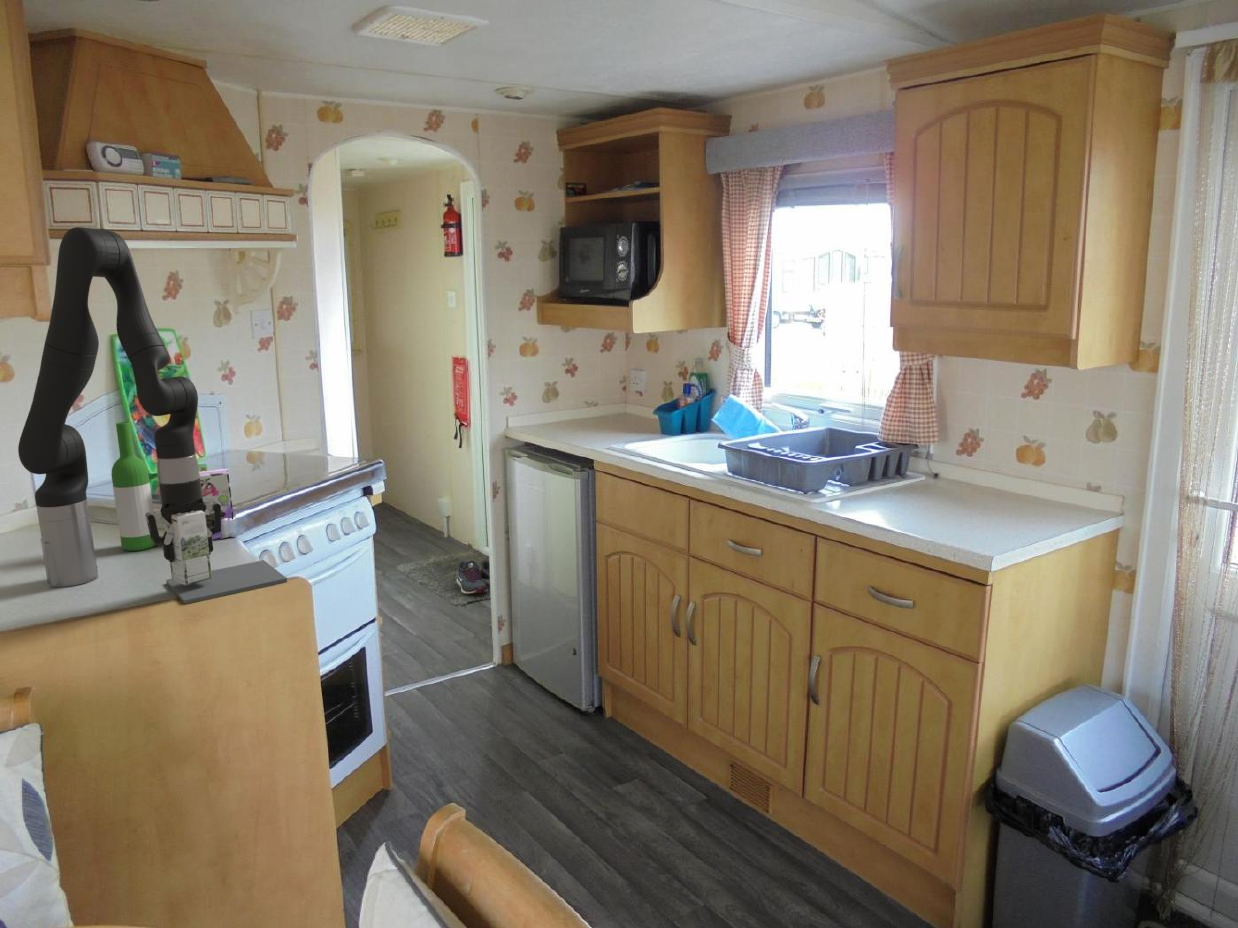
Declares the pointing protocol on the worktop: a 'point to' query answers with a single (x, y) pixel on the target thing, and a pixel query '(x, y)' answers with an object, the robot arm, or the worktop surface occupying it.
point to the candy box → (216, 494)
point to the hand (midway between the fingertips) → (189, 557)
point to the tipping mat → (228, 582)
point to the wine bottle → (131, 493)
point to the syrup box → (190, 548)
